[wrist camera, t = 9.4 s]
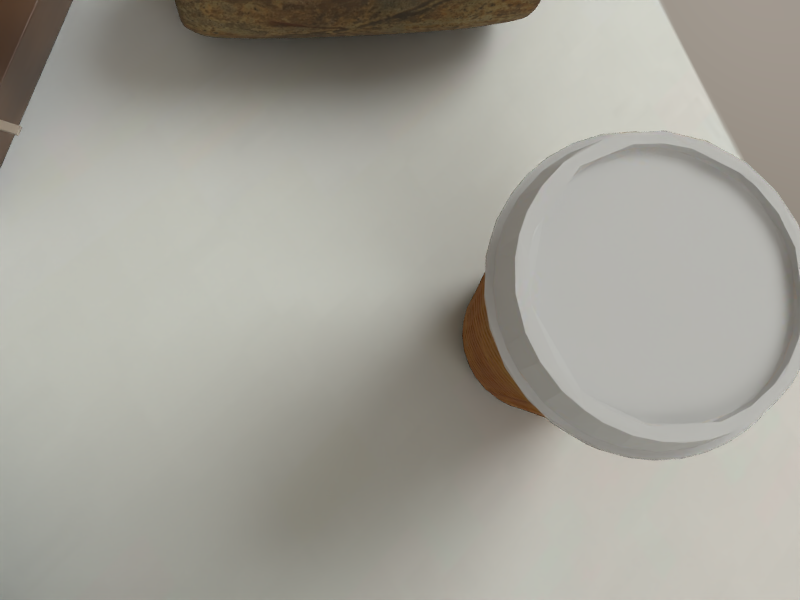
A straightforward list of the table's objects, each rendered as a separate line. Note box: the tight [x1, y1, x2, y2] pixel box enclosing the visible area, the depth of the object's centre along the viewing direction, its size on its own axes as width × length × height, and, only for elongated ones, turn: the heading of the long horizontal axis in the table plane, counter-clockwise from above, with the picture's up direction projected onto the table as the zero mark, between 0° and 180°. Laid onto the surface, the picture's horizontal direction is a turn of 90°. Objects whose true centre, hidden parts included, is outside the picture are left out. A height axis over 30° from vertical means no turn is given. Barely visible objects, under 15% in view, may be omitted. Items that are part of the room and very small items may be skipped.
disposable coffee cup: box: [462, 131, 800, 460], centre depth 26 cm, size 10×10×12 cm
